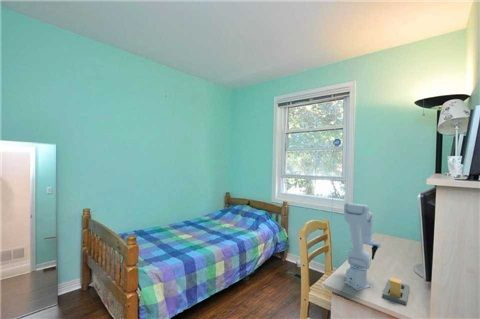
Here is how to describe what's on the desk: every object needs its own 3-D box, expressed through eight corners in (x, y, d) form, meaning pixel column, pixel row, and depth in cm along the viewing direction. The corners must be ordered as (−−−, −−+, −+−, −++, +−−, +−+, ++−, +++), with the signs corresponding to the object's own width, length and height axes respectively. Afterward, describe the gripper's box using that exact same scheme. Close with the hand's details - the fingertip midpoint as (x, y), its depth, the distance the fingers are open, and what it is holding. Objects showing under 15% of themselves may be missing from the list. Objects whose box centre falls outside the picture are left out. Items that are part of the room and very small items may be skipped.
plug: (400, 300, 105) (400, 283, 105) (389, 296, 108) (390, 280, 108) (400, 296, 108) (401, 280, 109) (390, 293, 111) (391, 277, 111)
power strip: (406, 305, 102) (406, 301, 102) (382, 296, 107) (382, 293, 107) (409, 288, 115) (409, 285, 115) (388, 282, 121) (388, 279, 121)
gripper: (381, 234, 128) (381, 258, 128) (353, 228, 137) (353, 251, 137) (379, 237, 123) (378, 262, 123) (350, 231, 132) (349, 254, 132)
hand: (365, 257), depth 130 cm, fingers open, 7 cm apart
